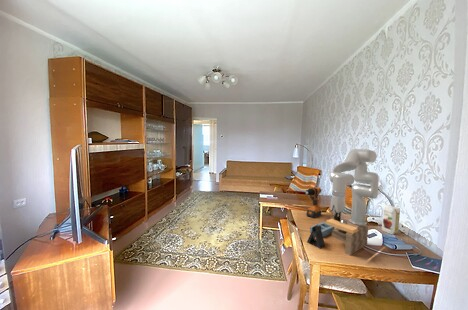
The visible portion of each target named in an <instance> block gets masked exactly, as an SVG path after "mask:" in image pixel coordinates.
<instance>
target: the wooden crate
mask: <svg viewBox="0 0 468 310" xmlns="http://www.w3.org/2000/svg"><path fill="white" fill-rule="evenodd" d="M356 228H358V231H357V232H355V233H354V234H352V233H349V232H347V233H346V234H344V233H341V232H340V229H339V228H336V227H335V229H334V230H332V233H331V237H332V238H336V239H338V240H339V241H342V242H345V244H344V253H345V254H347V255H349V256H351V255H353V254H354V253H356V252H357V251H359V250H362V248H364V247H366V246H367V245H368V236H369V225H368V224H367V225H364V224H362V225H358V226H356Z"/></svg>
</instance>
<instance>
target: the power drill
mask: <svg viewBox="0 0 468 310" xmlns="http://www.w3.org/2000/svg"><path fill="white" fill-rule="evenodd" d="M320 193H322V188H320V187H319V186H317V187H311V188H309V189H307V190H305V192H304V194H305V195H306V196H310V198H311V200H312V206H311V207H309V208H307V210H306V216H307V217H310V218H313V219H316V218H318V217H319V216H322V210H321V209H322V208H321V206H319V199H318V198H319V197H318V196H319V195H320Z"/></svg>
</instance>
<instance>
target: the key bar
mask: <svg viewBox="0 0 468 310" xmlns="http://www.w3.org/2000/svg"><path fill="white" fill-rule="evenodd" d="M325 223H326V224H328V225H331V226H333V227H335V229H336V228H339V229H341V230H344V231H346V232H349V233H352V234H354V233H355V232H357V231H358V228H357V226H353V225H350V224H348V223H347V224H345V223H342V222H341V221H340V222H339V221H336V220H334V218H330V219H326V221H325Z"/></svg>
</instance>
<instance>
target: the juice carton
mask: <svg viewBox="0 0 468 310" xmlns="http://www.w3.org/2000/svg"><path fill="white" fill-rule="evenodd" d="M400 215H401V208H400V207H397V206H393V205H390V204H388V205H387V204H386V205H384V206H383V210H382V222H381V231H383V232H385V233H388V234H390V235H396V234H398V232H399V227H400Z"/></svg>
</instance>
